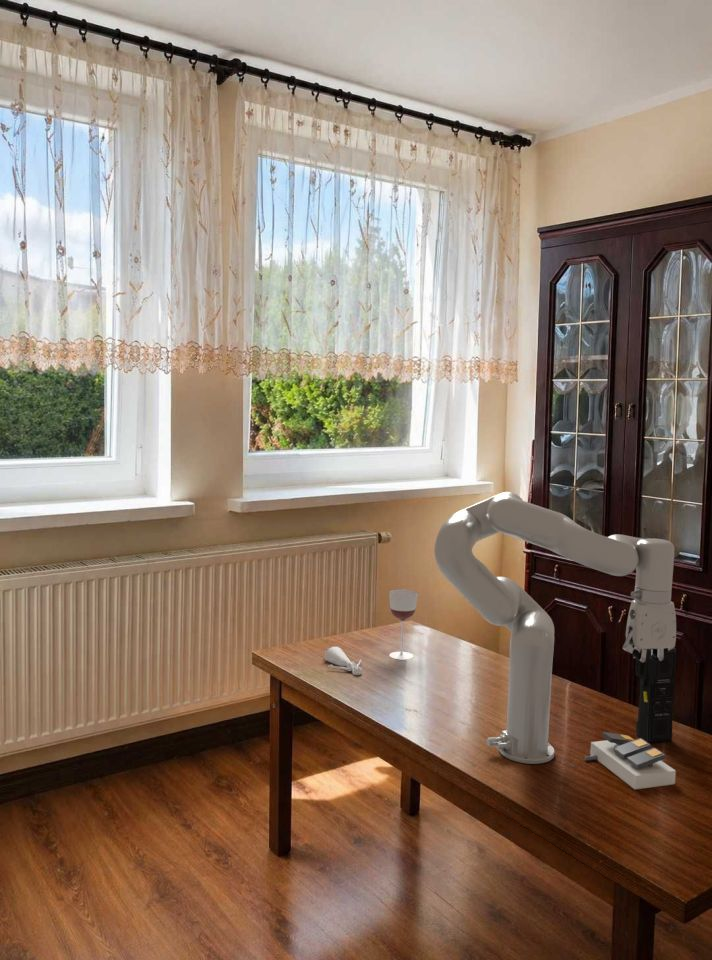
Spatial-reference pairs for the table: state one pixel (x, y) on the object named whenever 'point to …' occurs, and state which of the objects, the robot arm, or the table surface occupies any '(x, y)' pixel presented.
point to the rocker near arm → (617, 738)
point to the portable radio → (657, 701)
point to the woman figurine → (341, 660)
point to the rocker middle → (632, 748)
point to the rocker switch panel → (631, 767)
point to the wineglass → (402, 614)
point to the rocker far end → (646, 758)
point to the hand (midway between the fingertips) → (647, 676)
